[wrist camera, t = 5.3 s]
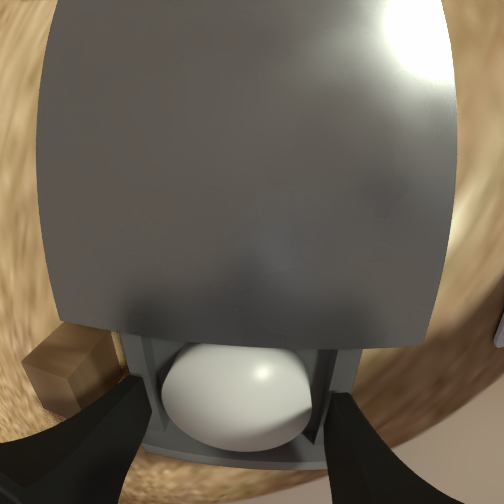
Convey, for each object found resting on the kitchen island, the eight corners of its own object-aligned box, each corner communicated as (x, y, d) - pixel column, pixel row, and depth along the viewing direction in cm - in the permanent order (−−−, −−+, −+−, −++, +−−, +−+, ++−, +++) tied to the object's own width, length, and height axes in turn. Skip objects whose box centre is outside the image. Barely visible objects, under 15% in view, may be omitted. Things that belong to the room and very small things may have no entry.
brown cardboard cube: (109, 329, 13) (67, 379, 9) (122, 375, 14) (89, 426, 10) (65, 320, 13) (21, 361, 9) (79, 364, 14) (44, 408, 10)
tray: (368, 247, 10) (392, 271, 7) (327, 434, 13) (331, 468, 10) (122, 237, 10) (88, 257, 8) (158, 420, 13) (145, 451, 11)
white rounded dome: (300, 427, 12) (302, 453, 10) (182, 418, 12) (174, 442, 11) (316, 330, 10) (322, 357, 9) (164, 322, 11) (149, 346, 9)
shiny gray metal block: (388, 19, 8) (431, -30, 4) (380, 286, 11) (421, 345, 7) (118, 25, 8) (62, -12, 4) (116, 273, 12) (60, 320, 8)
